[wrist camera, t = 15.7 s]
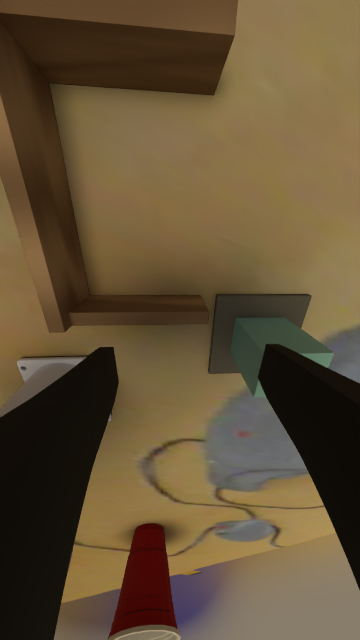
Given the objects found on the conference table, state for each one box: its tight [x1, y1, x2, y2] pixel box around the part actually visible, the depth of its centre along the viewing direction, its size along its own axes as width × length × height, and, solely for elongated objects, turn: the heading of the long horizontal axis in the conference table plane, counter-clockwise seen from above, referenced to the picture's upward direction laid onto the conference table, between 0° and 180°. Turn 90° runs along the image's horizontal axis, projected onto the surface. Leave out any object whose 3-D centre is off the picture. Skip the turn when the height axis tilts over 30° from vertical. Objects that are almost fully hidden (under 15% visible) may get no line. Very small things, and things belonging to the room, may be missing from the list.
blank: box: [230, 318, 334, 398], centre depth 16 cm, size 4×5×6 cm
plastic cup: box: [108, 524, 180, 640], centre depth 32 cm, size 11×11×12 cm
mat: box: [208, 294, 311, 374], centre depth 20 cm, size 9×9×1 cm
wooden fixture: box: [0, 0, 238, 333], centre depth 12 cm, size 15×11×5 cm
